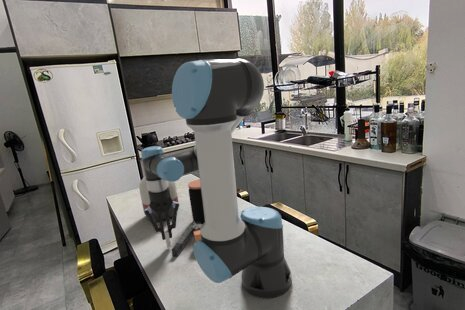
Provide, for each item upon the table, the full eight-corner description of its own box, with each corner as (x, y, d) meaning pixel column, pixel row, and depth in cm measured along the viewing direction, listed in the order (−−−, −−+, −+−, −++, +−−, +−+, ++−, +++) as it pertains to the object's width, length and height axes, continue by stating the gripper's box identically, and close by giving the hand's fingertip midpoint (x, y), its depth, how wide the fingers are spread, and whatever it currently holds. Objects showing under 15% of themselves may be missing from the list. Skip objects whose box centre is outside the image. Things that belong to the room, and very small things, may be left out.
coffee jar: (212, 225, 123) (207, 187, 119) (189, 225, 125) (184, 187, 121) (218, 214, 133) (214, 178, 129) (197, 214, 135) (192, 179, 131)
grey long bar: (184, 256, 102) (183, 249, 101) (172, 255, 103) (171, 248, 102) (203, 228, 121) (202, 221, 120) (193, 228, 122) (192, 221, 121)
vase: (154, 227, 127) (145, 178, 121) (139, 216, 139) (130, 171, 133) (186, 213, 137) (179, 167, 131) (169, 204, 150) (162, 162, 144)
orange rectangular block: (210, 238, 106) (209, 231, 106) (195, 242, 105) (194, 235, 104) (209, 234, 109) (208, 228, 108) (194, 238, 108) (193, 231, 107)
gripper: (175, 182, 108) (184, 236, 113) (140, 189, 104) (151, 245, 110) (177, 188, 101) (187, 246, 106) (140, 196, 97) (151, 255, 103)
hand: (168, 245), depth 108 cm, fingers closed
